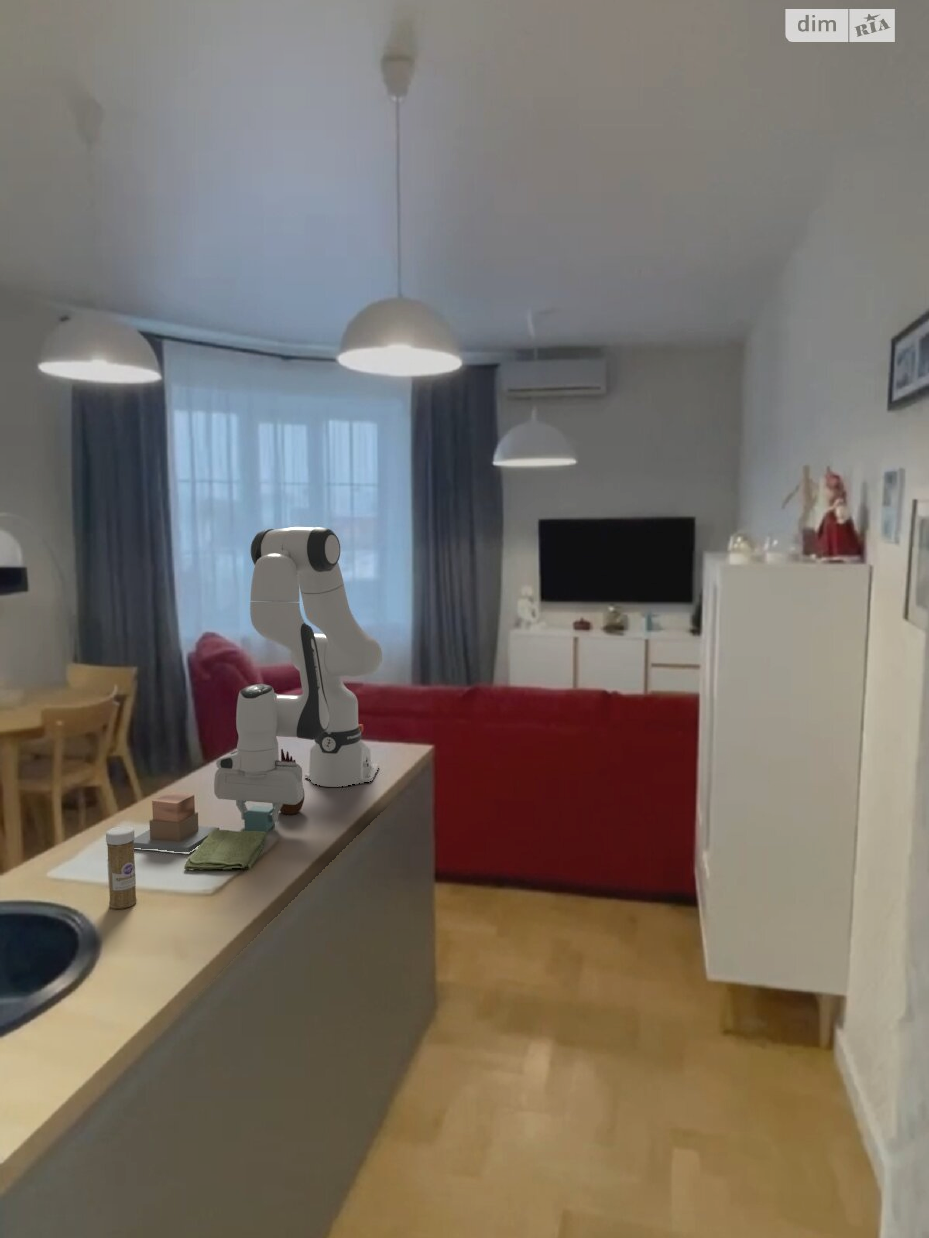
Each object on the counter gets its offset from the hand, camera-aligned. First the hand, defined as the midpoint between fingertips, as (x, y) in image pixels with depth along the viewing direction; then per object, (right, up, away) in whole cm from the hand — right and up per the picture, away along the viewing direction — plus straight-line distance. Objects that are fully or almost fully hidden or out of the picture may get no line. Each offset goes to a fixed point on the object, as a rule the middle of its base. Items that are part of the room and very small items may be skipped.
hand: (259, 820), depth 183 cm
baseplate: (-16, -3, -8) cm, 18 cm away
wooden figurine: (+4, -1, +10) cm, 11 cm away
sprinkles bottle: (-15, -6, -38) cm, 41 cm away
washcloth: (-2, -4, -16) cm, 16 cm away
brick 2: (0, -2, 0) cm, 2 cm away
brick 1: (-16, +3, -9) cm, 18 cm away
